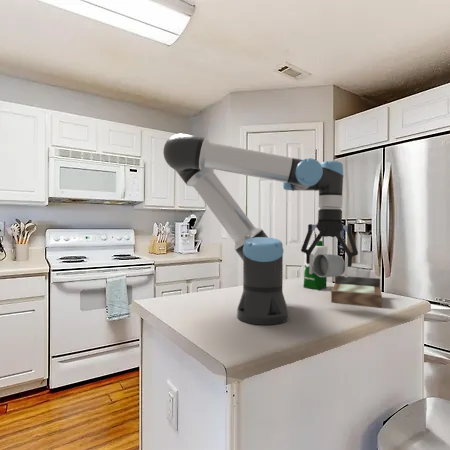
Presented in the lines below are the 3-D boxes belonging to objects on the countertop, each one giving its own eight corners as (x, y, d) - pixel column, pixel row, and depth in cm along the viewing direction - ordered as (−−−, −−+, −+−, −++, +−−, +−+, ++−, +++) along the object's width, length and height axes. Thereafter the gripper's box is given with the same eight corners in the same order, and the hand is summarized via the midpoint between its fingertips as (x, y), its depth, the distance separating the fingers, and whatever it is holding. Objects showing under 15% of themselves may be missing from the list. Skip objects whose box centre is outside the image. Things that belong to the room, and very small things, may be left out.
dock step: (331, 302, 114) (331, 282, 114) (335, 292, 129) (335, 275, 128) (381, 307, 107) (381, 286, 107) (379, 296, 122) (380, 278, 122)
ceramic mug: (347, 277, 106) (347, 254, 106) (328, 279, 102) (328, 254, 102) (324, 273, 115) (324, 251, 115) (306, 274, 112) (306, 252, 112)
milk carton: (329, 287, 138) (330, 241, 138) (318, 290, 132) (318, 242, 132) (311, 284, 145) (312, 240, 145) (300, 287, 139) (300, 241, 138)
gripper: (368, 209, 106) (366, 276, 106) (297, 208, 115) (295, 270, 115) (368, 208, 99) (365, 280, 99) (293, 208, 108) (291, 273, 109)
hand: (328, 275), depth 107 cm, fingers closed on ceramic mug, 11 cm apart
